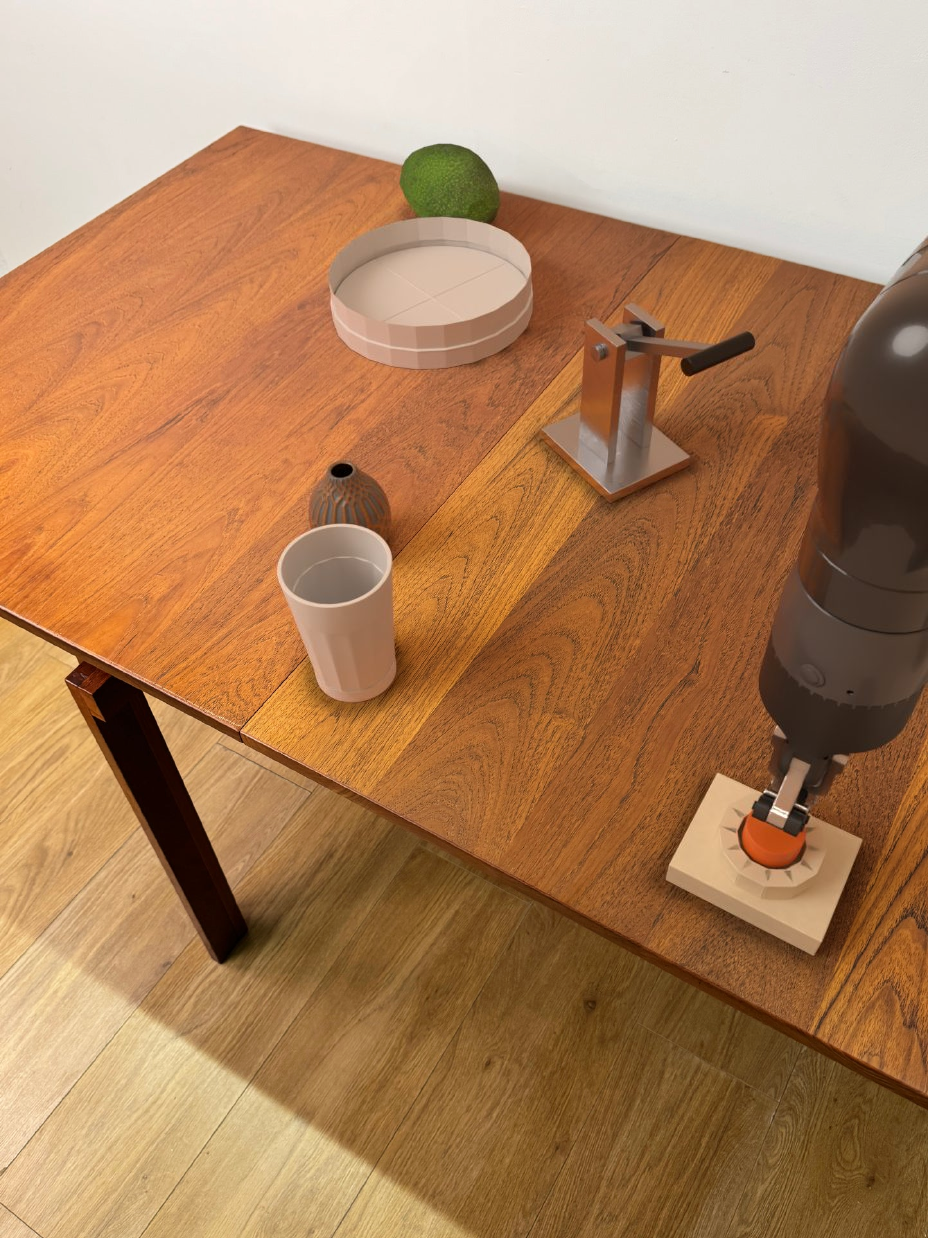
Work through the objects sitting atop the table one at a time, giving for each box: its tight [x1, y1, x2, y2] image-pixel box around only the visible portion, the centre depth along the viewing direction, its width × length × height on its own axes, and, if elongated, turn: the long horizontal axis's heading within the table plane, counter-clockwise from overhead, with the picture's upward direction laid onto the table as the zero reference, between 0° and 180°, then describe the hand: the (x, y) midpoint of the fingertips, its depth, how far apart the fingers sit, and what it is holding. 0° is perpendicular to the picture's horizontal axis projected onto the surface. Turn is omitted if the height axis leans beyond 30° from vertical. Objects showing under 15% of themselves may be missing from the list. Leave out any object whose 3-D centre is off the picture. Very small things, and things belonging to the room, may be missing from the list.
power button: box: [742, 810, 806, 867], centre depth 62 cm, size 4×4×2 cm
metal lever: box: [608, 322, 756, 378], centre depth 79 cm, size 14×6×2 cm, turn 32°
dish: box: [327, 217, 534, 370], centre depth 108 cm, size 22×22×5 cm
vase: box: [308, 459, 392, 543], centre depth 83 cm, size 7×7×9 cm
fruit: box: [399, 143, 501, 225], centre depth 118 cm, size 15×10×10 cm, turn 31°
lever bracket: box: [540, 302, 691, 504], centre depth 88 cm, size 11×9×14 cm
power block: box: [665, 772, 863, 956], centre depth 64 cm, size 10×8×4 cm
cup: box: [276, 524, 397, 703], centre depth 73 cm, size 8×8×12 cm
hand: (785, 818), depth 61 cm, fingers closed
